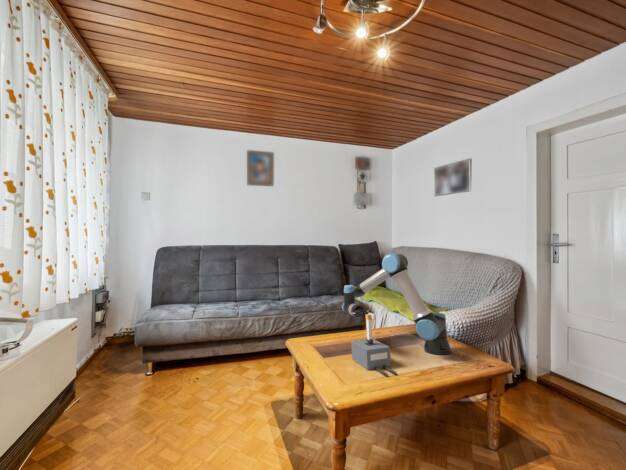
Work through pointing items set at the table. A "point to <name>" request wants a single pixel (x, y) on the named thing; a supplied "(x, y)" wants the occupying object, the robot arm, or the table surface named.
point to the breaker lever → (369, 328)
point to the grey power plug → (372, 355)
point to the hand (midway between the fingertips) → (374, 316)
